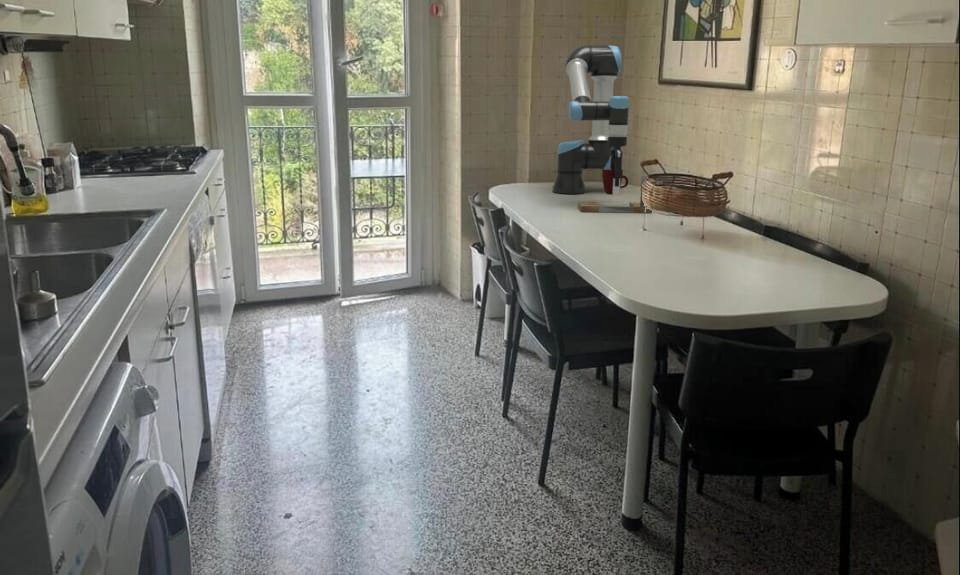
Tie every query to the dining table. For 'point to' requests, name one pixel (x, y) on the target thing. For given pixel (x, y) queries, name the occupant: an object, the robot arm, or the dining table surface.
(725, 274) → the dining table surface
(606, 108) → the robot arm
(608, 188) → the mug
